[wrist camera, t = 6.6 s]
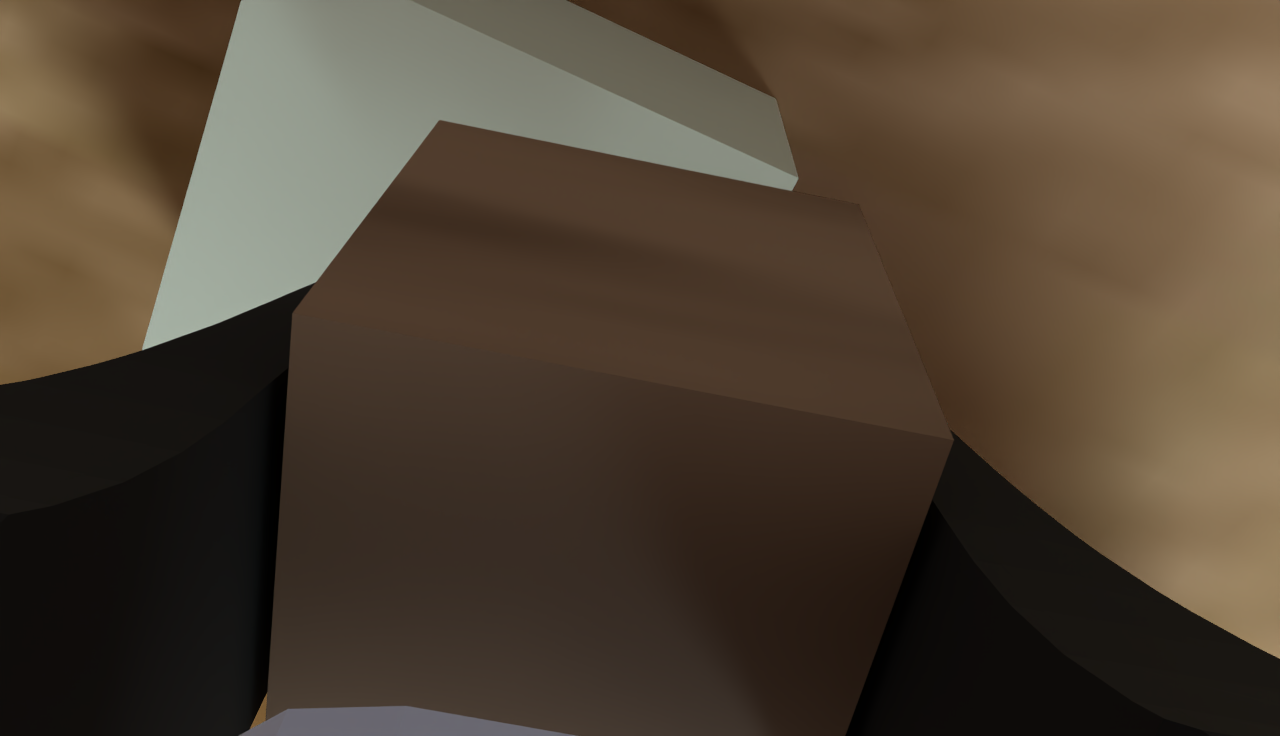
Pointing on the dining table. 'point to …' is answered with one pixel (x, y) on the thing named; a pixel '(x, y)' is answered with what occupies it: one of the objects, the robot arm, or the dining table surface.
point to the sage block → (420, 126)
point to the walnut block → (597, 451)
